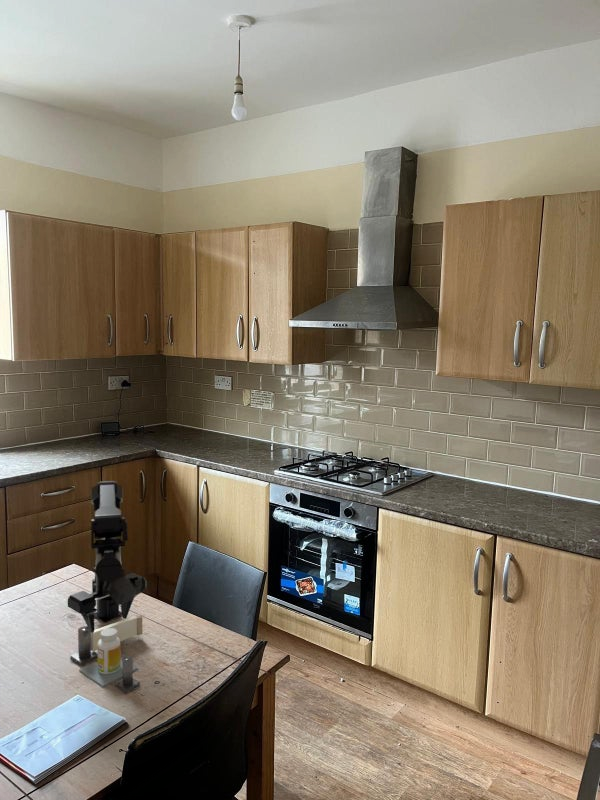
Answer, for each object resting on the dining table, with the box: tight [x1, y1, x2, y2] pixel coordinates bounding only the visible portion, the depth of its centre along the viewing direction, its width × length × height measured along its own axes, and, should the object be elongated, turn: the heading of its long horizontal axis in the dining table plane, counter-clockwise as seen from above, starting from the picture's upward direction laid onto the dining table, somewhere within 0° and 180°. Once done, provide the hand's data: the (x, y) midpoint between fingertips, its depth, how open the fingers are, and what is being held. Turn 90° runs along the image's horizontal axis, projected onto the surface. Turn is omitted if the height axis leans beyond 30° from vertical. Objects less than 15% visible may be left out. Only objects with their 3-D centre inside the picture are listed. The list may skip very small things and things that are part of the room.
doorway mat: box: [79, 656, 139, 688], centre depth 149 cm, size 10×10×1 cm
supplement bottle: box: [97, 628, 121, 674], centre depth 149 cm, size 5×5×10 cm
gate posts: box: [69, 625, 141, 694], centre depth 148 cm, size 22×5×8 cm, turn 52°
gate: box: [91, 613, 143, 652], centre depth 160 cm, size 14×2×5 cm, turn 134°
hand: (108, 625), depth 148 cm, fingers open, 9 cm apart
